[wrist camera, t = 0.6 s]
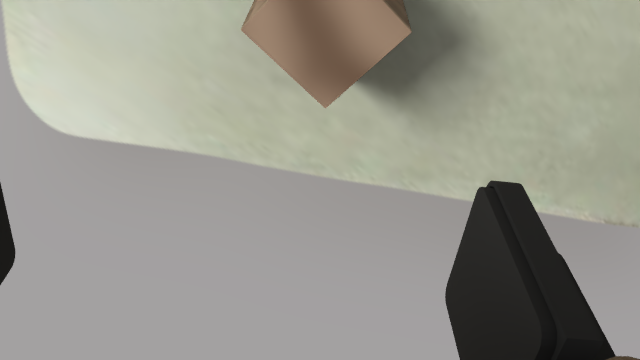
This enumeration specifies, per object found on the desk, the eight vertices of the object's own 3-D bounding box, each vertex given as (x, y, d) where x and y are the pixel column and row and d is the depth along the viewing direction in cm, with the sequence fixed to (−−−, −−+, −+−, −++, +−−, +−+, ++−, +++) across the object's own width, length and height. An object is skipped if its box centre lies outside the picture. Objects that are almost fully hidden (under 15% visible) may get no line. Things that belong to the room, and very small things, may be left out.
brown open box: (329, -82, 38) (326, -61, 32) (402, -2, 40) (411, 32, 34) (255, -3, 41) (240, 29, 35) (328, 66, 43) (325, 108, 37)
